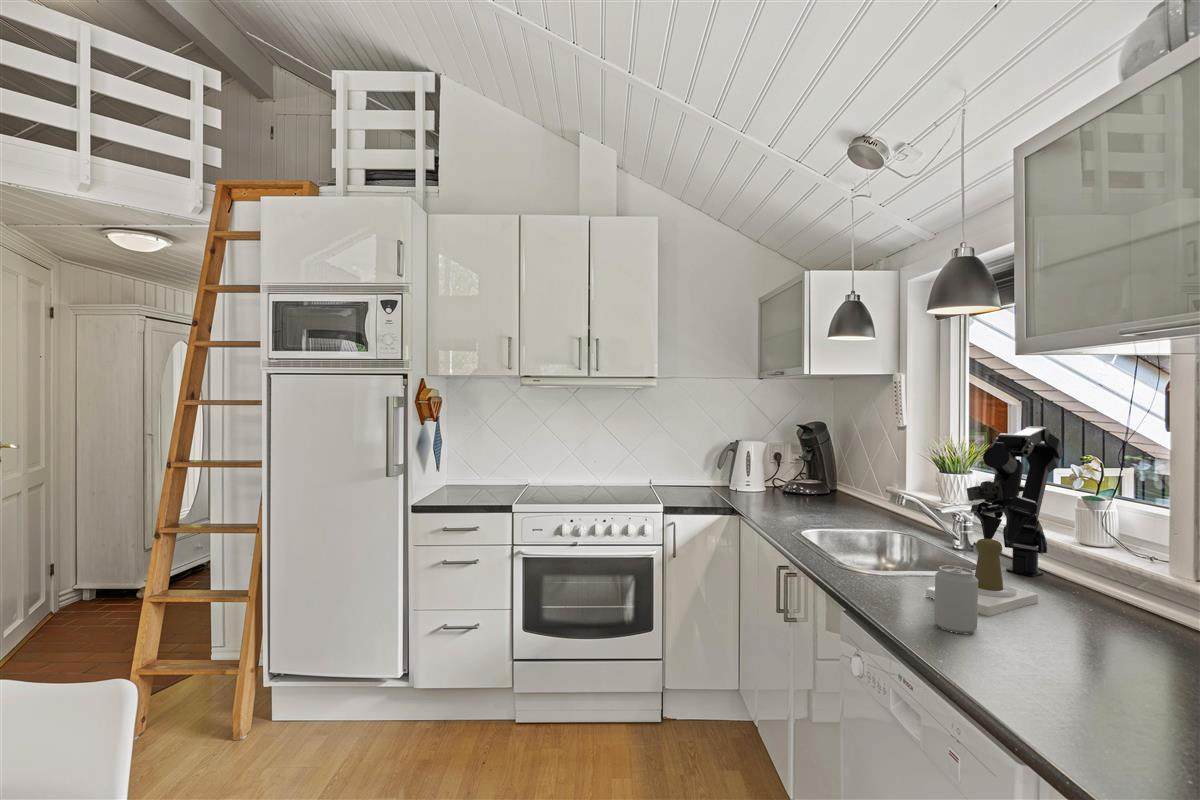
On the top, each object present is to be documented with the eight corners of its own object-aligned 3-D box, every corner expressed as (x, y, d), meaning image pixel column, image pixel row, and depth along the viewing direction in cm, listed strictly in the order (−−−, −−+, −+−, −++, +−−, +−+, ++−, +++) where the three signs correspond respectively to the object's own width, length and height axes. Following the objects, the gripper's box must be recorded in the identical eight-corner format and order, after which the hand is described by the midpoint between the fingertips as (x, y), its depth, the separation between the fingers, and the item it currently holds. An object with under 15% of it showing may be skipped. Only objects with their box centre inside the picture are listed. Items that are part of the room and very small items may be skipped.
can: (928, 628, 125) (930, 568, 124) (940, 619, 130) (941, 561, 130) (971, 638, 119) (972, 576, 119) (981, 629, 125) (983, 569, 124)
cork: (1001, 592, 140) (1003, 543, 140) (971, 587, 144) (972, 539, 144) (1005, 586, 145) (1006, 539, 145) (975, 581, 149) (976, 535, 148)
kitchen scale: (975, 585, 154) (976, 575, 154) (1038, 602, 142) (1038, 591, 142) (925, 597, 144) (926, 585, 144) (988, 616, 132) (988, 604, 132)
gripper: (955, 476, 167) (945, 533, 163) (995, 465, 149) (985, 529, 145) (998, 489, 166) (988, 546, 162) (1043, 479, 148) (1034, 544, 144)
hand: (997, 541), depth 153 cm, fingers open, 9 cm apart
